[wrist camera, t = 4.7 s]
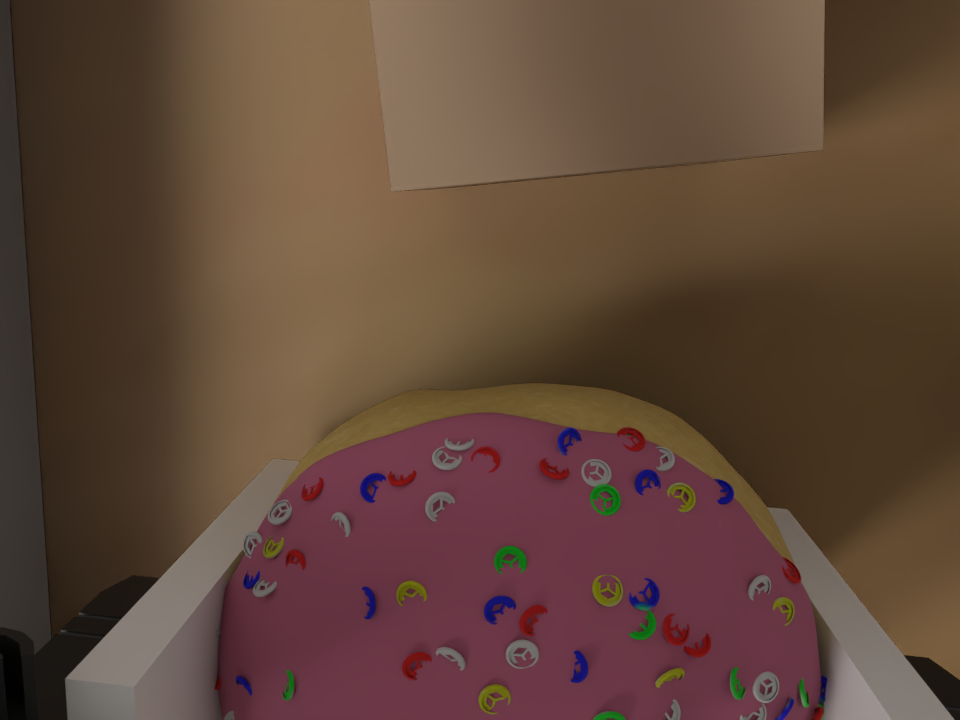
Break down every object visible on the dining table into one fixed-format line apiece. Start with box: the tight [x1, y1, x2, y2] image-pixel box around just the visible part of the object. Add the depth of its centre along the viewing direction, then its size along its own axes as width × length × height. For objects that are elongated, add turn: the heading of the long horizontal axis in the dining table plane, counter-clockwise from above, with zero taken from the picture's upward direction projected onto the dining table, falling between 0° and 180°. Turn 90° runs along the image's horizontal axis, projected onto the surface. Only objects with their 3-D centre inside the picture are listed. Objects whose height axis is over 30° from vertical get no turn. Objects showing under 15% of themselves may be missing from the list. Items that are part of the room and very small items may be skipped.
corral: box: [0, 0, 51, 655], centre depth 12 cm, size 22×22×4 cm
